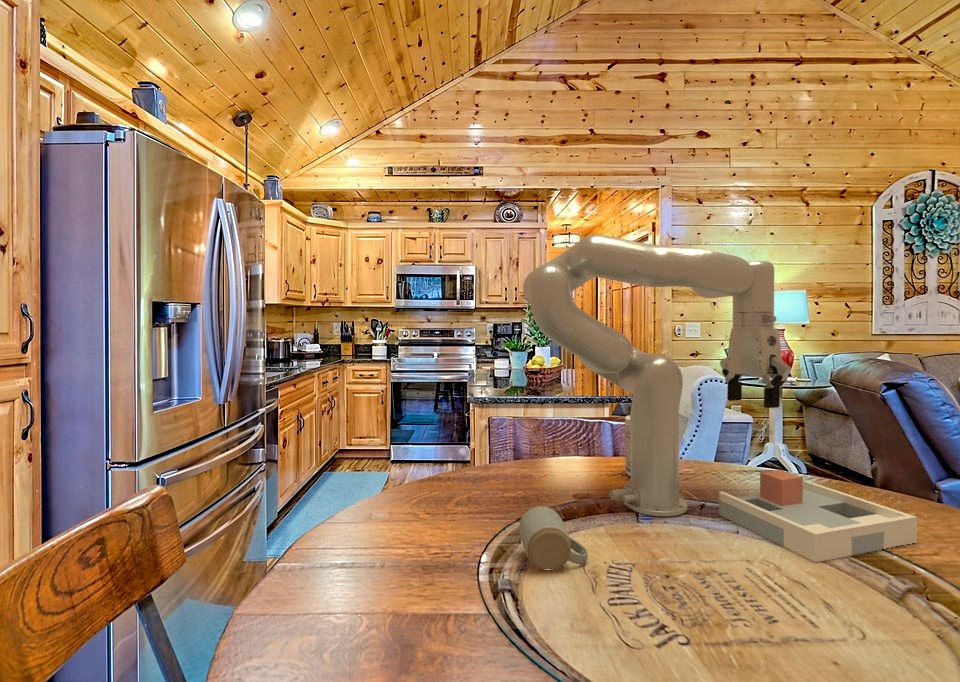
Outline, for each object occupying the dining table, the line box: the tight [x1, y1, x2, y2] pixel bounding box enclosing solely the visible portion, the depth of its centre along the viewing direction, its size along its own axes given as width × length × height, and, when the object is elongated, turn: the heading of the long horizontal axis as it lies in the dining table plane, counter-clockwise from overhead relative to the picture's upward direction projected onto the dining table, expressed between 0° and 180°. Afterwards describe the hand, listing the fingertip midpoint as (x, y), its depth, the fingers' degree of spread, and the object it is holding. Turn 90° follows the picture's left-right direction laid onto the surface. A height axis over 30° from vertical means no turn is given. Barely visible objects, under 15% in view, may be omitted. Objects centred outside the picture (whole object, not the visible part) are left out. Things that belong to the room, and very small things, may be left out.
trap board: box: [718, 480, 918, 563], centre depth 90 cm, size 22×20×4 cm
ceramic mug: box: [518, 505, 589, 571], centre depth 79 cm, size 11×8×8 cm
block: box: [759, 469, 804, 506], centre depth 96 cm, size 5×5×5 cm
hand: (752, 403), depth 102 cm, fingers open, 9 cm apart
